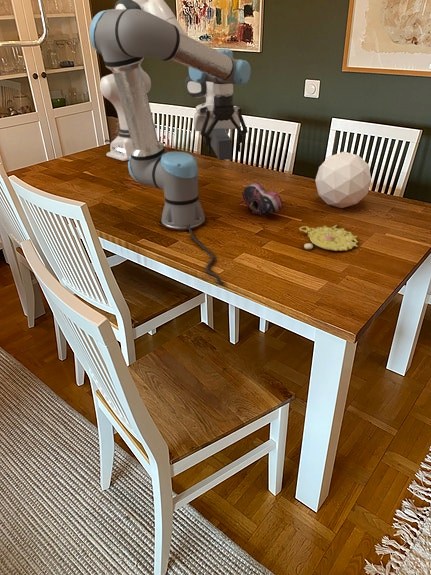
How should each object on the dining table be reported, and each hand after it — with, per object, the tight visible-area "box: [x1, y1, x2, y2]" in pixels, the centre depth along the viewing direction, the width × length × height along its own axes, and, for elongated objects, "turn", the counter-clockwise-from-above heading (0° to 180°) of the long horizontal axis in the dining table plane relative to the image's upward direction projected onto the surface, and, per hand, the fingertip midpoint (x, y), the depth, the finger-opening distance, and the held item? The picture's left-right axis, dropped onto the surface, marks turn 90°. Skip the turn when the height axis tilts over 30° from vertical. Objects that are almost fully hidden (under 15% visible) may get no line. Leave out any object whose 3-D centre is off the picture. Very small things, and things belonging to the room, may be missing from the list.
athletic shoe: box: [238, 182, 284, 217], centre depth 160 cm, size 11×22×12 cm
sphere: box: [314, 151, 372, 209], centre depth 160 cm, size 19×20×20 cm
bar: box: [210, 129, 233, 161], centre depth 187 cm, size 24×5×8 cm, turn 9°
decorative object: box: [299, 224, 359, 252], centre depth 141 cm, size 21×2×20 cm
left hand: (217, 140), depth 196 cm, fingers closed on bar, 5 cm apart
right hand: (224, 152), depth 181 cm, fingers open, 11 cm apart
